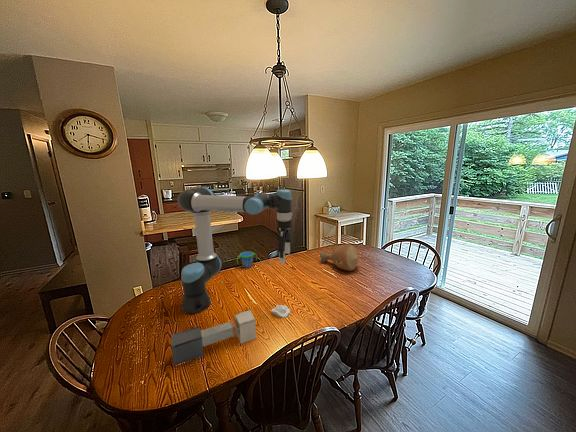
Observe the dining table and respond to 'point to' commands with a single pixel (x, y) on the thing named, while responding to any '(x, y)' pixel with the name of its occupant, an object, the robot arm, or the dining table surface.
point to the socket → (245, 326)
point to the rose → (281, 311)
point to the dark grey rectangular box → (187, 345)
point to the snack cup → (246, 258)
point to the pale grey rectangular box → (218, 333)
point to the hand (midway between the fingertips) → (284, 258)
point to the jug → (342, 257)
